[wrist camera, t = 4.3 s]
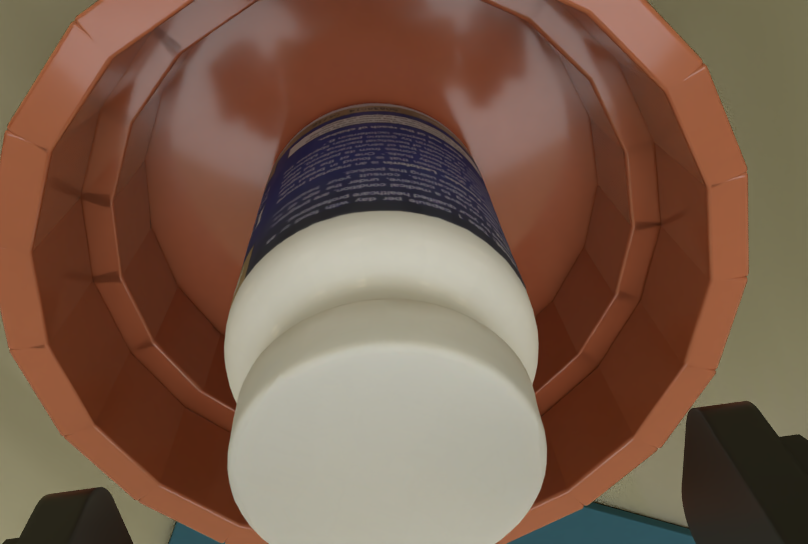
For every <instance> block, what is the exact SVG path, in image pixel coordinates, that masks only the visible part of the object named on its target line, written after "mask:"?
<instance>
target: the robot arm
mask: <svg viewBox="0 0 808 544" xmlns="http://www.w3.org/2000/svg"><path fill="white" fill-rule="evenodd" d="M682 501H683V507H684V512H685V516H686V520H687V523H688V526H689V529H690V532H691V534H692V536H693V539H694V541H695V543H696V544H808V440H807V439H805V438H804V437H802V436H801V435H799V434H798V435H791V436H783V437H779V436H778V435H777V434H776V432H775V431H774V430H773V428H772V427H771V426H770V424H769V423H768V422H767V420H766V419H765V418H764V416H763V415H762V414H761V412H760V411H759V410H758V408H757V407H756V406H755V405H754V404H752V403H751V402H749V401H742V402H735V403H728V404H720V405H713V406H706V407H698V408H692V409H691V410H690V411H689V412H688V415H687V421H686V434H685V448H684V463H683V477H682ZM2 544H133V542H132V540H131V537H130V535H129V533H128V531H127V528H126V526H125V524H124V522H123V520H122V517H121V515H120V513H119V511H118V508H117V506H116V504H115V502H114V500H113V497H112V496H111V494H110V492H109V491H108V490H107V489H105V488H103V487H98V488H90V489H83V490H76V491H68V492H61V493H54V494H48V495H45V496H44V497H43V498H41V500H40V501H39V502H38V504H37V505H36V507H35V509H34V511H33V513H32V514H31V516H30V518H29V520H28V522H27V524H26V526H25V528H24V530H23V532H22V534H21V535H20V537H19V538H14V539H6V540H5V541H4V542H3V543H2Z"/></svg>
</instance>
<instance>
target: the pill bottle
mask: <svg viewBox="0 0 808 544" xmlns="http://www.w3.org/2000/svg"><path fill="white" fill-rule="evenodd" d="M538 345H539V343H538V329H537V325H536V321H535V316H534V312H533V309H532V306H531V303H530V300H529V297H528V294H527V291H526V286H525V284H524V282H523V280H522V277H521V275H520V272H519V270H518V267H517V264H516V262H515V260H514V257H513V255H512V253H511V251H510V248H509V245H508V243H507V240H506V238H505V236H504V233H503V231H502V228H501V226H500V223H499V220H498V217H497V214H496V212H495V210H494V207H493V204H492V202H491V199H490V196H489V193H488V191H487V189H486V186H485V183H484V181H483V178H482V176H481V173H480V171H479V169H478V167H477V165H476V163H475V161H474V159H473V157H472V156H471V154H470V153H469V151H468V150H467V148H466V147H465V146H464V144H463V143H462V142H461V141H460V140H459V139H458V138H457V137H456V136H455V135H454V134H453V133H452V132H451V131H450V130H449V129H448V128H447V127H445V126H444V125H443V124H441V123H440V122H438V121H437V120H435V119H433V118H432V117H430V116H428V115H426V114H424V113H422V112H419V111H416V110H414V109H411V108H407V107H404V106H399V105H393V104H382V103H368V104H358V105H352V106H348V107H344V108H341V109H338V110H335V111H332V112H330V113H327V114H325V115H323V116H321V117H319V118H318V119H316V120H314V121H313V122H311V123H310V124H308V125H307V126H306V127H304V128H303V129H302V130H301V131H300V132H298V133H297V134H296V135H295V136H294V137H293V138H292V139H291V140H290V142H289V143H288V144H287V145H286V147H285V148H284V149H283V151H282V152H281V153H280V155H279V157H278V159H277V160H276V162H275V164H274V166H273V169H272V171H271V173H270V176H269V178H268V181H267V184H266V187H265V190H264V193H263V197H262V200H261V204H260V207H259V210H258V214H257V217H256V221H255V224H254V227H253V231H252V235H251V238H250V241H249V244H248V248H247V251H246V255H245V258H244V262H243V265H242V269H241V272H240V276H239V279H238V282H237V286H236V289H235V292H234V296H233V299H232V303H231V307H230V311H229V316H228V320H227V324H226V333H225V342H224V359H225V367H226V372H227V377H228V381H229V385H230V389H231V391H232V394H233V397H234V399H235V401H236V403H237V405H236V410H235V414H234V418H233V424H232V430H231V436H230V442H229V447H228V463H227V470H228V477H229V483H230V487H231V491H232V494H233V497H234V500H235V502H236V504H237V506H238V508H239V509H240V512H241V514H242V515H243V517H244V518H245V519H246V521H247V522H248V524H249V525H250V526H251V527H252V528H253V529H254V531H255V532H256V533H257V534H258V535H259V536H260V537H261V538H262V539H263V540H265V541H266V542H267V543H269V544H496V543H497V542H498V541H500V540H501V539H502V538H504V537H505V536H506V535H507V534H508V533H509V532H511V531H512V530H513V529H514V528H515V527H516V526H517V525H518V524H519V523H520V522H521V521H522V519H523V518H524V517H525V515H526V514H527V513H528V511H529V510H530V508H531V507H532V505H533V503H534V501H535V500H536V498H537V496H538V494H539V492H540V490H541V487H542V483H543V480H544V476H545V471H546V464H547V443H546V436H545V430H544V427H543V423H542V420H541V417H540V413H539V410H538V406H537V402H536V397H535V392H534V389H533V386H532V385H533V381H534V378H535V374H536V369H537V364H538Z"/></svg>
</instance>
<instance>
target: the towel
mask: <svg viewBox="0 0 808 544" xmlns="http://www.w3.org/2000/svg"><path fill="white" fill-rule="evenodd" d="M168 544H225V542H224V543H220V542H218V541H216V540H214V539H212V538H210V537H207V536H205V535H203V534H201V533H199V532H197V531H195V530H193V529H191V528H189V527H187V526H185V525H183V524H181V523H179V522H177V521H176V524H175V527H174V530H173V532H172V535H171V538H170V540H169V543H168ZM507 544H696V543H695V541H694V539H693V536H692V534H691V532H690V529H688V528H684V527H680V526H677V525H673V524H670V523H666V522H662V521H659V520H655V519H652V518H648V517H644V516H641V515H637V514H633V513H630V512H626V511H623V510H619V509H615V508H612V507H608V506H604V505H601V504H597V503H594V502H592V503H590V504H589V505H587V506H585V505H584V507H583V508H582V509H581V510H578V511H576V512H574V513H572V514H570V515H568V516H565V517H563V518H561V519H559V520H557V521H555V522H552V523H550V524H548V525H546V526H544V527H542V528H539V529H537V530H535V531H533V532H531V533H529V534H526V535H524V536H522V537H520V538H518V539H516V540H513V541H511V542H509V543H507Z"/></svg>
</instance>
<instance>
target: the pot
mask: <svg viewBox="0 0 808 544" xmlns="http://www.w3.org/2000/svg"><path fill="white" fill-rule="evenodd" d="M368 103H382V104H393V105H399V106H404V107H407V108H411V109H414V110H416V111H419V112H422V113H424V114H426V115H428V116H430V117H432V118H433V119H435V120H437V121H438V122H440V123H441V124H443V125H444V126H445V127H447V128H448V129H449V130H450V131H451V132H452V133H453V134H454V135H455V136H456V137H457V138H458V139H459V140H460V141H461V142H462V143H463V144H464V146H465V147H466V148H467V150H468V151H469V153H470V154H471V156H472V157H473V159H474V161H475V163H476V165H477V167H478V169H479V171H480V173H481V176H482V178H483V181H484V183H485V186H486V189H487V191H488V193H489V196H490V199H491V202H492V204H493V207H494V210H495V212H496V214H497V217H498V220H499V223H500V226H501V228H502V231H503V233H504V236H505V238H506V240H507V243H508V245H509V248H510V251H511V253H512V255H513V257H514V260H515V262H516V264H517V267H518V270H519V272H520V275H521V277H522V280H523V282H524V284H525V286H526V291H527V294H528V297H529V300H530V303H531V306H532V309H533V312H534V316H535V321H536V325H537V329H538V343H539V345H538V364H537V369H536V374H535V378H534V381H533V385H532V386H533V389H534V392H535V397H536V402H537V406H538V410H539V413H540V417H541V420H542V423H543V427H544V430H545V436H546V443H547V464H546V471H545V476H544V480H543V483H542V487H541V490H540V492H539V494H538V496H537V498H536V500H535V501H534V503H533V505H532V507H531V508H530V510H529V511H528V513H527V514H526V515H525V517H524V518H523V519H522V521H521V522H520V523H519V524H518V525H517V526H516V527H515V528H514V529H513V530H512V531H511V532H509V533H508V534H507V535H506V536H505V537H504V538H502V539H501V540H500V541H498V542H497V543H496V544H507V543H509V542H511V541H513V540H516V539H518V538H520V537H522V536H524V535H526V534H529V533H531V532H533V531H535V530H537V529H539V528H542V527H544V526H546V525H548V524H550V523H552V522H555V521H557V520H559V519H561V518H563V517H565V516H568V515H570V514H572V513H574V512H576V511H578V510H581V509H582V508H583V507H584V505H585V506H587V505H589V504H590V503H592V502H593V501H594V500H595V499H597V498H598V497H599V496H601V495H602V494H603V493H604V492H606V491H607V490H608V489H609V488H611V487H612V486H613V485H614V484H616V483H617V482H618V481H619V480H621V479H622V478H623V477H624V476H626V475H627V474H628V473H629V472H631V471H632V470H633V469H635V468H636V467H637V466H638V465H640V464H641V463H642V462H643V461H645V460H646V459H647V458H648V457H650V456H651V455H652V454H653V453H655V452H656V451H657V450H658V448H661V447H662V446H663V444H664V443H665V442H666V440H667V439H668V438H669V436H670V435H671V433H672V432H673V431H674V429H675V428H676V427H677V425H678V424H679V423H680V421H681V420H682V419H683V417H684V416H685V414H686V413H687V412H688V410H689V409H690V408H691V406H692V405H693V404H694V402H695V401H696V399H697V398H698V397H699V395H700V394H701V393H702V391H703V390H704V389H705V387H706V386H707V385H708V383H709V382H710V380H711V379H712V378H713V376H714V375H715V374H716V370H715V369H717V368H718V365H719V362H720V359H721V356H722V353H723V350H724V347H725V344H726V341H727V339H728V336H729V333H730V330H731V327H732V324H733V321H734V318H735V315H736V312H737V309H738V307H739V304H740V301H741V298H742V295H743V292H744V289H745V286H746V283H747V276H748V274H749V252H748V174H747V172H746V171H747V166H746V163H745V161H744V158H743V156H742V153H741V150H740V148H739V145H738V143H737V140H736V138H735V135H734V133H733V130H732V128H731V125H730V123H729V120H728V118H727V115H726V113H725V110H724V108H723V105H722V103H721V100H720V98H719V95H718V93H717V90H716V88H715V85H714V83H713V80H712V78H711V75H710V73H709V70H708V68H707V66H706V65H705V64H704V63H703V62H702V59H701V58H700V57H699V55H698V54H697V53H696V52H695V51H694V50H693V49H692V48H691V47H690V46H689V45H688V44H687V43H686V42H685V41H684V40H683V39H682V37H681V36H680V35H679V34H678V33H677V32H676V31H675V30H674V29H673V28H672V27H671V26H670V25H669V24H668V23H667V22H666V21H665V20H664V18H663V17H662V16H661V15H660V14H659V13H658V12H657V11H656V10H655V9H654V8H653V7H652V6H651V5H650V4H649V3H648V2H647V0H98V1H96V2H95V3H94V4H92V5H91V6H90V7H88V8H87V9H85V10H84V11H83V12H81V13H80V14H79V15H77V16H76V18H75V20H74V21H73V22H71V23H70V25H69V26H68V28H67V30H66V31H65V33H64V34H63V36H62V38H61V39H60V41H59V42H58V44H57V46H56V47H55V49H54V51H53V52H52V54H51V55H50V57H49V59H48V60H47V62H46V63H45V65H44V67H43V68H42V70H41V72H40V73H39V75H38V76H37V78H36V80H35V81H34V83H33V84H32V86H31V88H30V89H29V91H28V93H27V94H26V96H25V97H24V99H23V101H22V102H21V104H20V105H19V107H18V109H17V110H16V112H15V114H14V115H13V117H12V118H11V120H10V122H9V123H8V126H7V130H6V131H5V133H4V139H3V145H2V151H1V157H0V311H1V315H2V320H3V325H4V329H5V334H6V339H7V343H8V347H9V348H10V350H9V351H10V353H11V355H12V356H13V358H14V360H15V361H16V363H17V365H18V366H19V368H20V369H21V371H22V373H23V374H24V376H25V377H26V379H27V381H28V382H29V384H30V386H31V387H32V389H33V390H34V392H35V394H36V395H37V397H38V399H39V400H40V402H41V403H42V405H43V407H44V408H45V410H46V411H47V413H48V415H49V416H50V418H51V420H52V421H53V423H54V424H55V426H56V428H57V429H58V431H59V432H60V434H61V435H62V436H64V438H65V439H66V440H67V441H68V442H69V443H71V444H72V445H73V446H74V447H75V448H76V449H77V450H79V451H80V452H81V453H82V454H83V455H84V456H85V457H86V458H88V459H89V460H90V461H91V462H92V463H93V464H94V465H96V466H97V467H98V468H99V469H100V470H101V471H102V472H104V473H105V474H106V475H107V476H108V477H109V478H110V479H112V480H113V481H114V482H115V483H116V484H117V485H118V486H120V487H121V488H122V489H123V490H124V491H125V492H126V493H127V494H129V495H130V496H131V497H132V498H133V499H134V500H138V501H139V503H141V504H143V505H145V506H147V507H149V508H151V509H153V510H155V511H157V512H159V513H161V514H163V515H165V516H167V517H169V518H171V519H173V520H175V521H177V522H179V523H181V524H183V525H185V526H187V527H189V528H191V529H193V530H195V531H197V532H199V533H201V534H203V535H205V536H207V537H210V538H212V539H214V540H216V541H218V542H220V543H224V542H225V544H269V543H267V542H266V541H265V540H263V539H262V538H261V537H260V536H259V535H258V534H257V533H256V532H255V531H254V529H253V528H252V527H251V526H250V525H249V524H248V522H247V521H246V519H245V518H244V517H243V515H242V514H241V512H240V509H239V508H238V506H237V504H236V502H235V500H234V497H233V494H232V491H231V487H230V483H229V477H228V470H227V463H228V447H229V442H230V436H231V430H232V424H233V418H234V414H235V410H236V405H237V403H236V401H235V399H234V397H233V394H232V391H231V389H230V385H229V381H228V377H227V372H226V367H225V359H224V342H225V333H226V324H227V320H228V316H229V311H230V307H231V303H232V299H233V296H234V292H235V289H236V286H237V282H238V279H239V276H240V272H241V269H242V265H243V262H244V258H245V255H246V251H247V248H248V244H249V241H250V238H251V235H252V231H253V227H254V224H255V221H256V217H257V214H258V210H259V207H260V204H261V200H262V197H263V193H264V190H265V187H266V184H267V181H268V178H269V176H270V173H271V171H272V169H273V166H274V164H275V162H276V160H277V159H278V157H279V155H280V153H281V152H282V151H283V149H284V148H285V147H286V145H287V144H288V143H289V142H290V140H291V139H292V138H293V137H294V136H295V135H296V134H297V133H298V132H300V131H301V130H302V129H303V128H304V127H306V126H307V125H308V124H310V123H311V122H313V121H314V120H316V119H318V118H319V117H321V116H323V115H325V114H327V113H330V112H332V111H335V110H338V109H341V108H344V107H348V106H352V105H358V104H368Z"/></svg>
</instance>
